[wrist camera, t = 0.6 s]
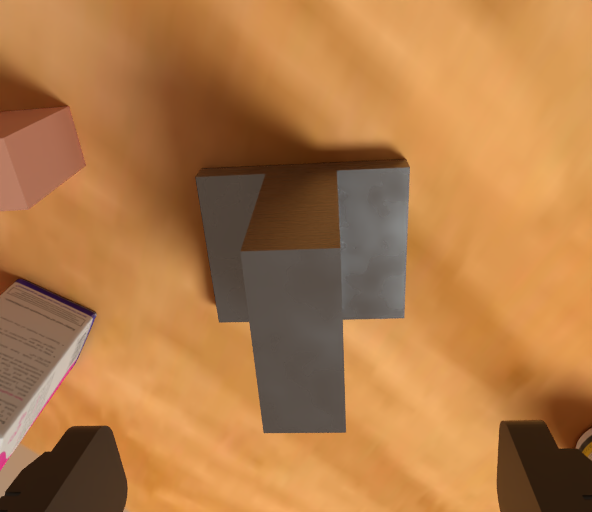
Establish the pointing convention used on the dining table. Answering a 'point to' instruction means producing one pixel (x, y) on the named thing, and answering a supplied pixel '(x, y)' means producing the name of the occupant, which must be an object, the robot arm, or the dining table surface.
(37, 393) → the supplement box
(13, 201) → the batten
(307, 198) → the stand
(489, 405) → the dining table surface
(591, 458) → the supplement bottle
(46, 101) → the dining table surface
